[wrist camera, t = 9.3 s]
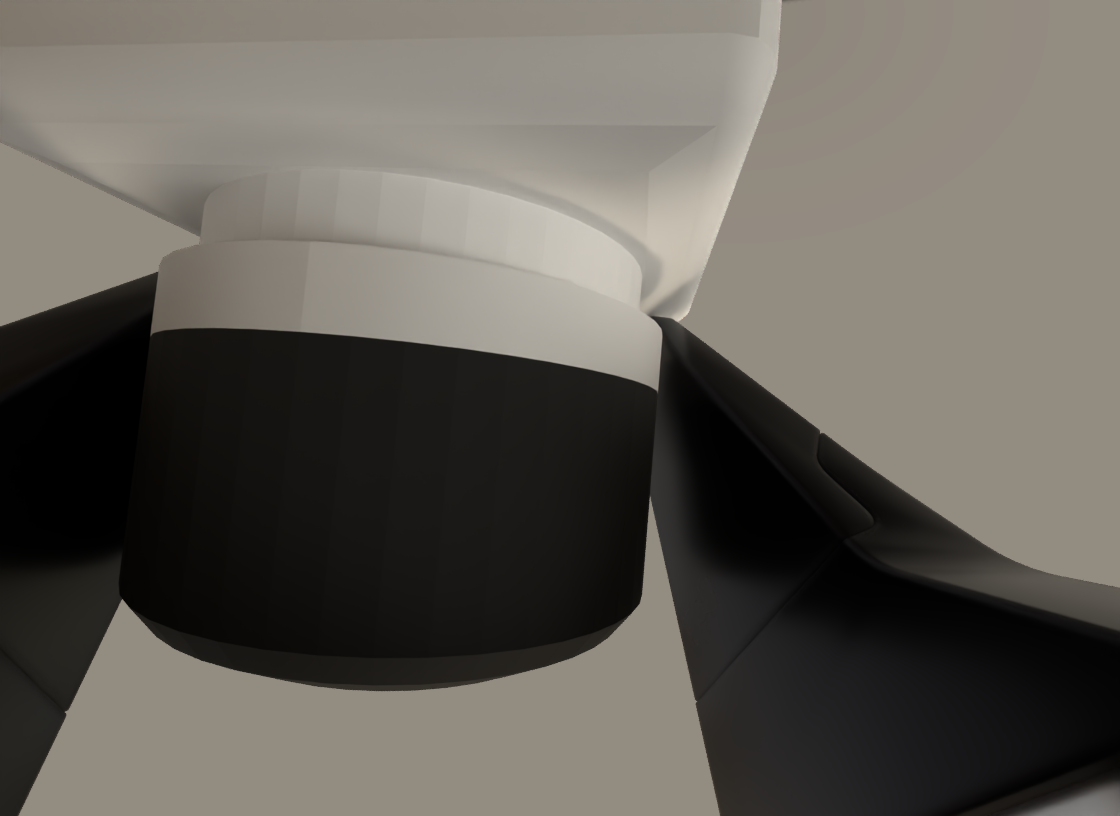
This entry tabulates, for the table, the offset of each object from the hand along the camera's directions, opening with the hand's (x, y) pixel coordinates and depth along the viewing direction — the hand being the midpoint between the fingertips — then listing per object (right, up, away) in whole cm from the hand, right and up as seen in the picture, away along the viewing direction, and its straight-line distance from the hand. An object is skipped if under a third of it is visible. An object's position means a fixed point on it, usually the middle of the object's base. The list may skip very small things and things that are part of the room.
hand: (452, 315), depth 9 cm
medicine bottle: (+1, +8, -1) cm, 8 cm away
